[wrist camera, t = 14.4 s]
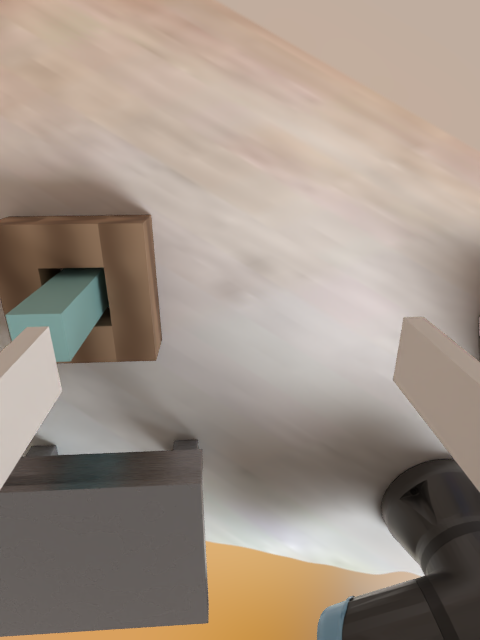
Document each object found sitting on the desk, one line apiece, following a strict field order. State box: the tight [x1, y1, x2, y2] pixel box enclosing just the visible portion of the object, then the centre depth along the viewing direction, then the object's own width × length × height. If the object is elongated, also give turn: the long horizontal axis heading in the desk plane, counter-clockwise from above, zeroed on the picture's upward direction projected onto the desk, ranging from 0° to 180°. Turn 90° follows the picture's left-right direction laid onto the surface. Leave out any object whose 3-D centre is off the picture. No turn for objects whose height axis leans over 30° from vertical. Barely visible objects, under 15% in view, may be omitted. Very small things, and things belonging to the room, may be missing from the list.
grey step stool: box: [0, 440, 209, 637], centre depth 41 cm, size 24×16×20 cm, turn 90°
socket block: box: [0, 215, 162, 364], centre depth 41 cm, size 14×14×5 cm
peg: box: [5, 267, 109, 362], centre depth 37 cm, size 4×4×14 cm
